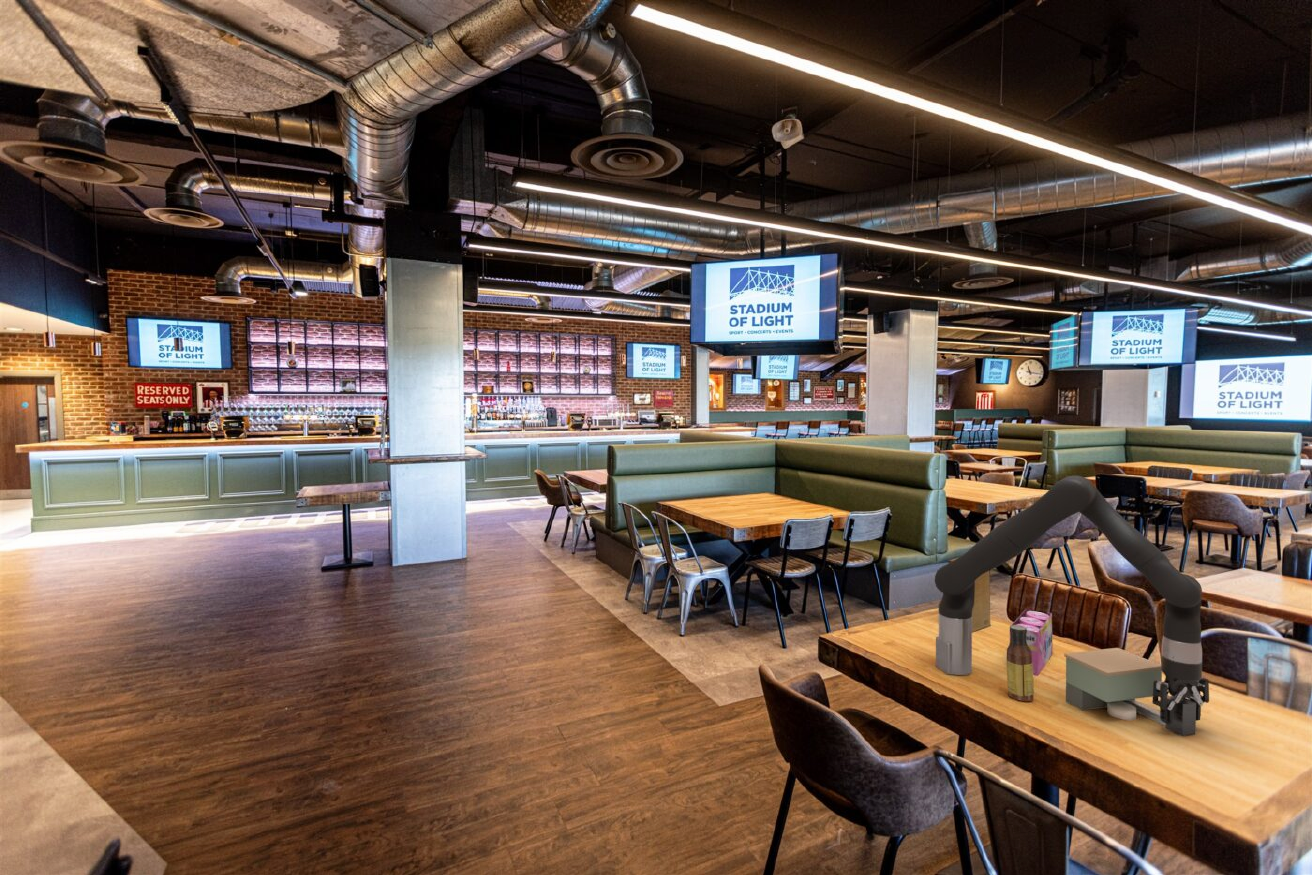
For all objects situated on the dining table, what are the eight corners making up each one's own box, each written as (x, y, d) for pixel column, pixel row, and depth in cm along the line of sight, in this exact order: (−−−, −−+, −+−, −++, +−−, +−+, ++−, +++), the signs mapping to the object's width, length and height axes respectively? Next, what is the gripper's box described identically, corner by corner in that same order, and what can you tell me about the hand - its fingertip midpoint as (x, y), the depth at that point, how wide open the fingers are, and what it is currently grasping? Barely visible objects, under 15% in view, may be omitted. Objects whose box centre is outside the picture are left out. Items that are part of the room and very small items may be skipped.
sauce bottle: (1030, 693, 168) (1030, 624, 167) (1036, 703, 162) (1036, 632, 161) (1004, 690, 170) (1004, 622, 169) (1009, 700, 164) (1009, 629, 163)
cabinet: (1106, 724, 151) (1107, 672, 150) (1063, 701, 163) (1064, 653, 163) (1163, 716, 154) (1164, 666, 154) (1117, 694, 167) (1117, 647, 166)
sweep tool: (1182, 736, 145) (1182, 704, 144) (1123, 707, 159) (1123, 677, 159) (1195, 734, 146) (1196, 702, 145) (1135, 705, 160) (1135, 676, 160)
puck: (1123, 722, 152) (1123, 712, 152) (1101, 710, 158) (1101, 701, 158) (1142, 719, 153) (1142, 710, 153) (1120, 708, 159) (1120, 699, 159)
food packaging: (967, 618, 230) (967, 554, 229) (991, 625, 222) (992, 559, 221) (947, 625, 222) (947, 559, 222) (971, 633, 214) (971, 564, 214)
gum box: (1026, 646, 202) (1026, 607, 201) (1054, 652, 196) (1054, 612, 196) (1008, 669, 184) (1008, 625, 184) (1038, 676, 179) (1038, 632, 178)
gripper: (1173, 665, 141) (1173, 732, 142) (1221, 659, 144) (1220, 725, 145) (1142, 653, 149) (1141, 716, 149) (1188, 648, 151) (1187, 710, 152)
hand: (1180, 720), depth 147 cm, fingers open, 8 cm apart
